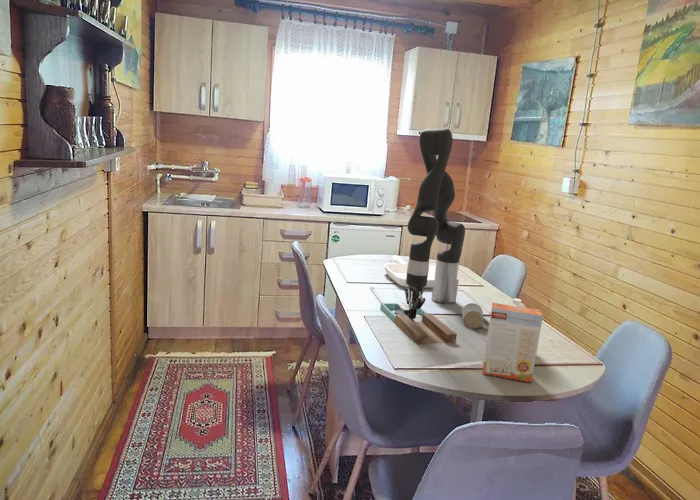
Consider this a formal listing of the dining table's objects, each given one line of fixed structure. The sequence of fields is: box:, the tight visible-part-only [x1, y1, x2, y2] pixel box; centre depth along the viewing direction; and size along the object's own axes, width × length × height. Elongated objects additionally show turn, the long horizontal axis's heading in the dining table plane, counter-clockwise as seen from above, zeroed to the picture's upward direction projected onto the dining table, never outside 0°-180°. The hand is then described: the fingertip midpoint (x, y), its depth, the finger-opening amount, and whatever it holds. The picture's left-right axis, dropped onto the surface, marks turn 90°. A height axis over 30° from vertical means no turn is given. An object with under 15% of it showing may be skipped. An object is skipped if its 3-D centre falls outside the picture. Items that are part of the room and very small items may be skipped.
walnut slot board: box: [394, 313, 458, 345], centre depth 183 cm, size 14×19×4 cm
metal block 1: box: [394, 301, 409, 314], centre depth 199 cm, size 4×4×4 cm
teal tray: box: [379, 302, 429, 323], centre depth 198 cm, size 14×14×3 cm
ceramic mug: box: [461, 302, 490, 330], centre depth 195 cm, size 11×8×8 cm
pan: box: [383, 255, 436, 289], centre depth 256 cm, size 27×44×5 cm, turn 16°
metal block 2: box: [399, 306, 409, 318], centre depth 196 cm, size 4×4×4 cm
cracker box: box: [482, 302, 544, 384], centre depth 155 cm, size 14×6×21 cm, turn 75°
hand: (411, 318), depth 192 cm, fingers closed
